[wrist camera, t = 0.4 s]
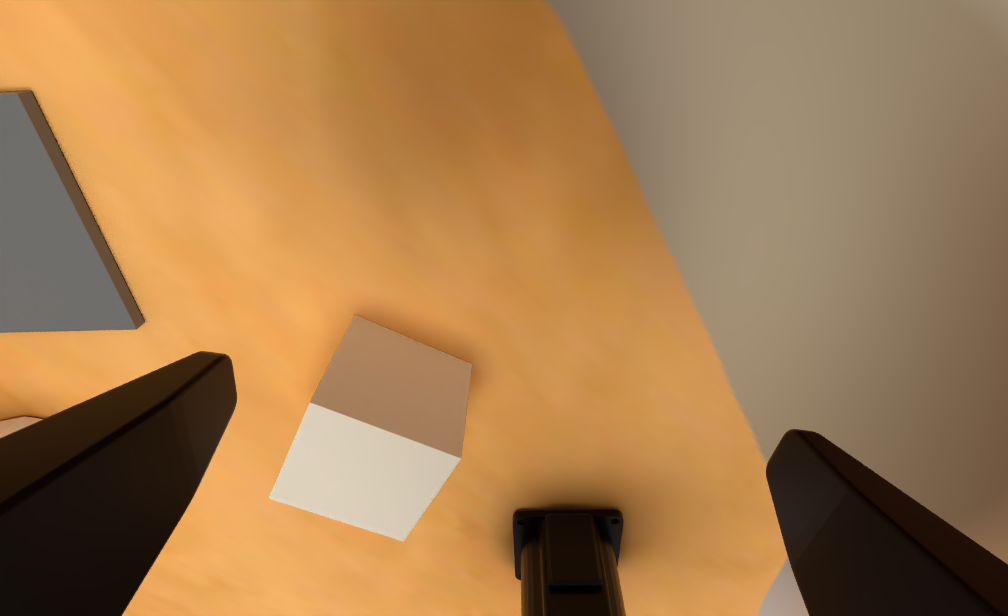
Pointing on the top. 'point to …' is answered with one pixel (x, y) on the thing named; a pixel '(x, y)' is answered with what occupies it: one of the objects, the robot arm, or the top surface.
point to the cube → (378, 432)
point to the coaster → (51, 237)
